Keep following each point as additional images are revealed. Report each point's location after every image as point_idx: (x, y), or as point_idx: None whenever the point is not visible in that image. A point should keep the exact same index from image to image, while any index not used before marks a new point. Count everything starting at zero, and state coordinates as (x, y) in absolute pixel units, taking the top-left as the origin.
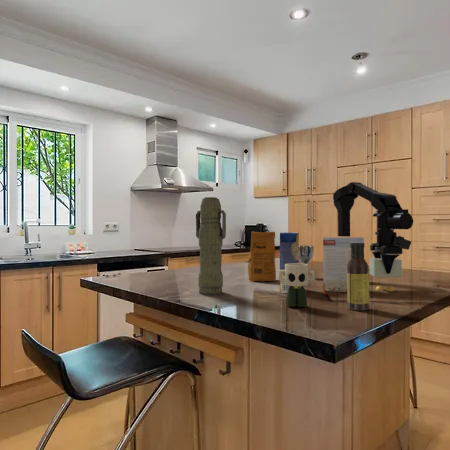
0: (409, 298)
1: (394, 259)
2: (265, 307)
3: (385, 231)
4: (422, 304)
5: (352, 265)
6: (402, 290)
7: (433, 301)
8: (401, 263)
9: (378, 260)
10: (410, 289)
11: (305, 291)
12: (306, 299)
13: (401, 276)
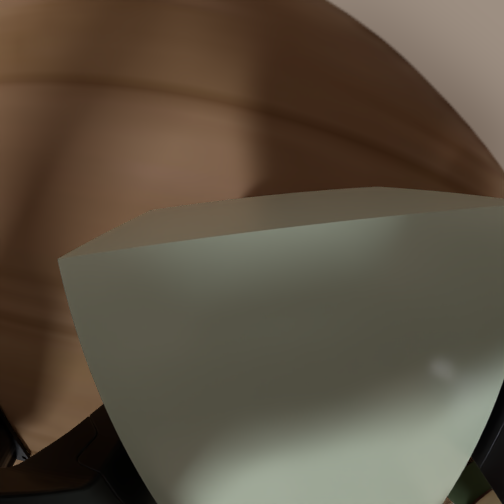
0: (363, 152)
1: (428, 326)
2: (449, 499)
3: None
4: (474, 148)
5: None
6: (61, 134)
7: (408, 62)
8: (490, 198)
9: (449, 484)
10: (23, 84)
11: (483, 482)
12: (476, 470)
13: (381, 187)
